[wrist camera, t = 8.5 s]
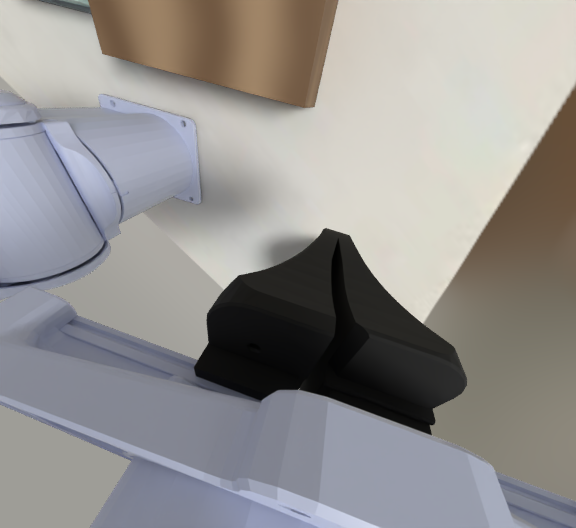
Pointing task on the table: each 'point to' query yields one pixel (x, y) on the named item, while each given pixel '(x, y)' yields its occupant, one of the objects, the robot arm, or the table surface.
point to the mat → (69, 5)
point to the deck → (224, 41)
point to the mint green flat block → (78, 2)
